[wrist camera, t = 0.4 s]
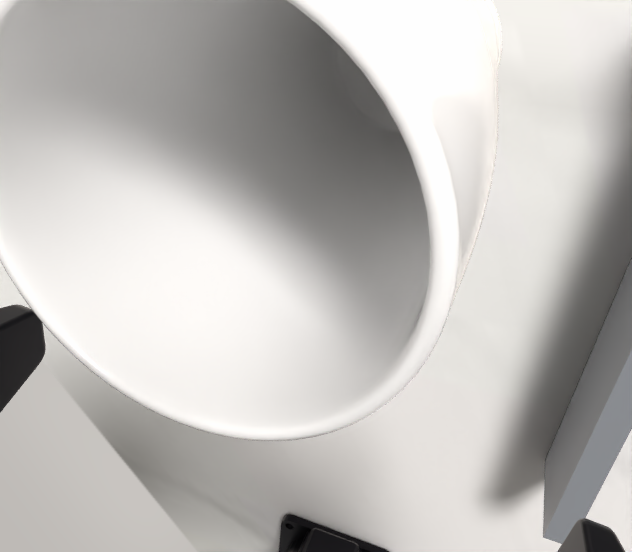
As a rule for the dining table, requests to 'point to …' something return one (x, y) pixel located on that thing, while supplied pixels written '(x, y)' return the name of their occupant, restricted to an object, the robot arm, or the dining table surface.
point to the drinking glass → (246, 195)
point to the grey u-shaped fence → (592, 422)
